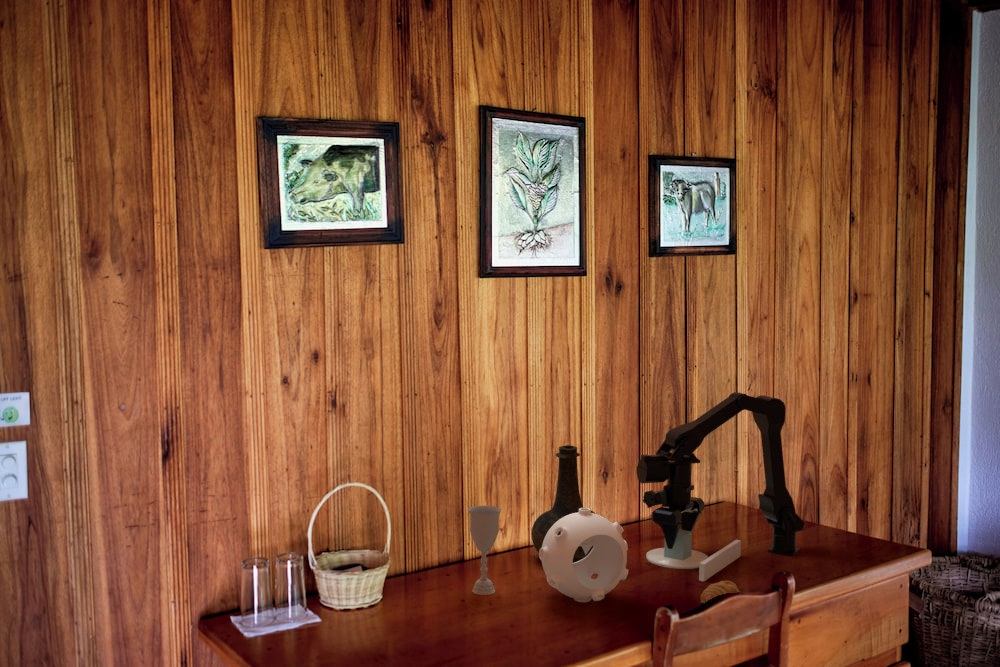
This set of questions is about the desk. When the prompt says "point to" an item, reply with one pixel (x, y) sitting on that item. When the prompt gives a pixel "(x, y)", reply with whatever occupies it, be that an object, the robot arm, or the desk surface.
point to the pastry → (718, 590)
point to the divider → (719, 560)
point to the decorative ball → (601, 560)
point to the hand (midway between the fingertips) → (677, 544)
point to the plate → (690, 563)
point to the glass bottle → (562, 499)
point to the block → (680, 546)
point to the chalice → (484, 540)
